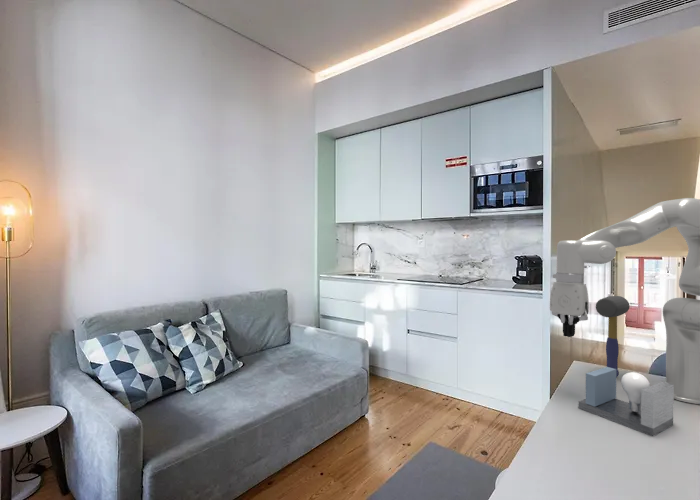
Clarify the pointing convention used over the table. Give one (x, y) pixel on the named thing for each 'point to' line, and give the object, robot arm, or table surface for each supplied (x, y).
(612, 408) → the vise base
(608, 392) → the vise jaw
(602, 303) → the rubber mallet
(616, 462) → the table surface
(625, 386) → the lightbulb
